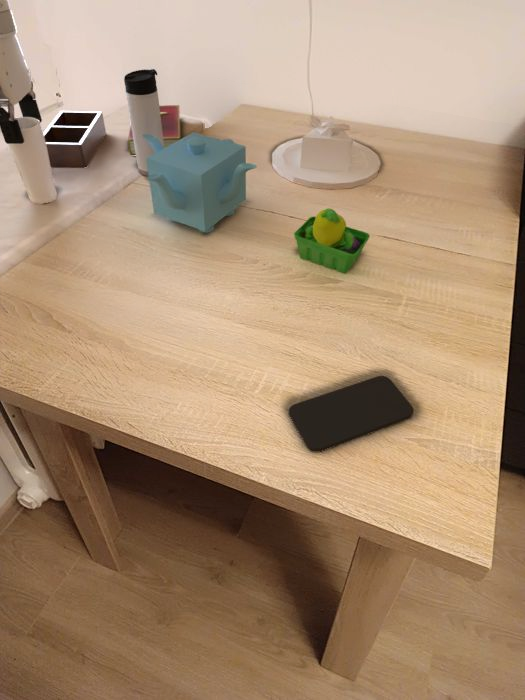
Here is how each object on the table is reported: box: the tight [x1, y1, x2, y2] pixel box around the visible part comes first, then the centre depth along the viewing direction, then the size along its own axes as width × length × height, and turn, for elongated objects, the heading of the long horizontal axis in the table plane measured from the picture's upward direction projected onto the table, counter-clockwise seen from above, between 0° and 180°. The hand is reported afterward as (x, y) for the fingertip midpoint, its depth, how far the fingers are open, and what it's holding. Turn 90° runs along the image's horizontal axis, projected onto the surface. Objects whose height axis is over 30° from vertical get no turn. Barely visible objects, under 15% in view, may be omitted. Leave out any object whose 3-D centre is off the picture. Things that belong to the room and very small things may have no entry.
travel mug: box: [123, 68, 164, 177], centre depth 105 cm, size 6×7×20 cm
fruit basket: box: [293, 208, 370, 275], centre depth 84 cm, size 11×9×11 cm
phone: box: [288, 375, 415, 452], centre depth 64 cm, size 7×1×15 cm
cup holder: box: [43, 110, 107, 169], centre depth 117 cm, size 10×19×5 cm, turn 0°
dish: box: [271, 115, 382, 190], centre depth 112 cm, size 25×25×11 cm
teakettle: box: [142, 131, 258, 233], centre depth 93 cm, size 19×19×15 cm
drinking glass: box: [6, 116, 58, 205], centre depth 96 cm, size 7×7×15 cm
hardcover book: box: [127, 104, 182, 156], centre depth 123 cm, size 12×21×4 cm, turn 7°
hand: (24, 132), depth 92 cm, fingers open, 9 cm apart
